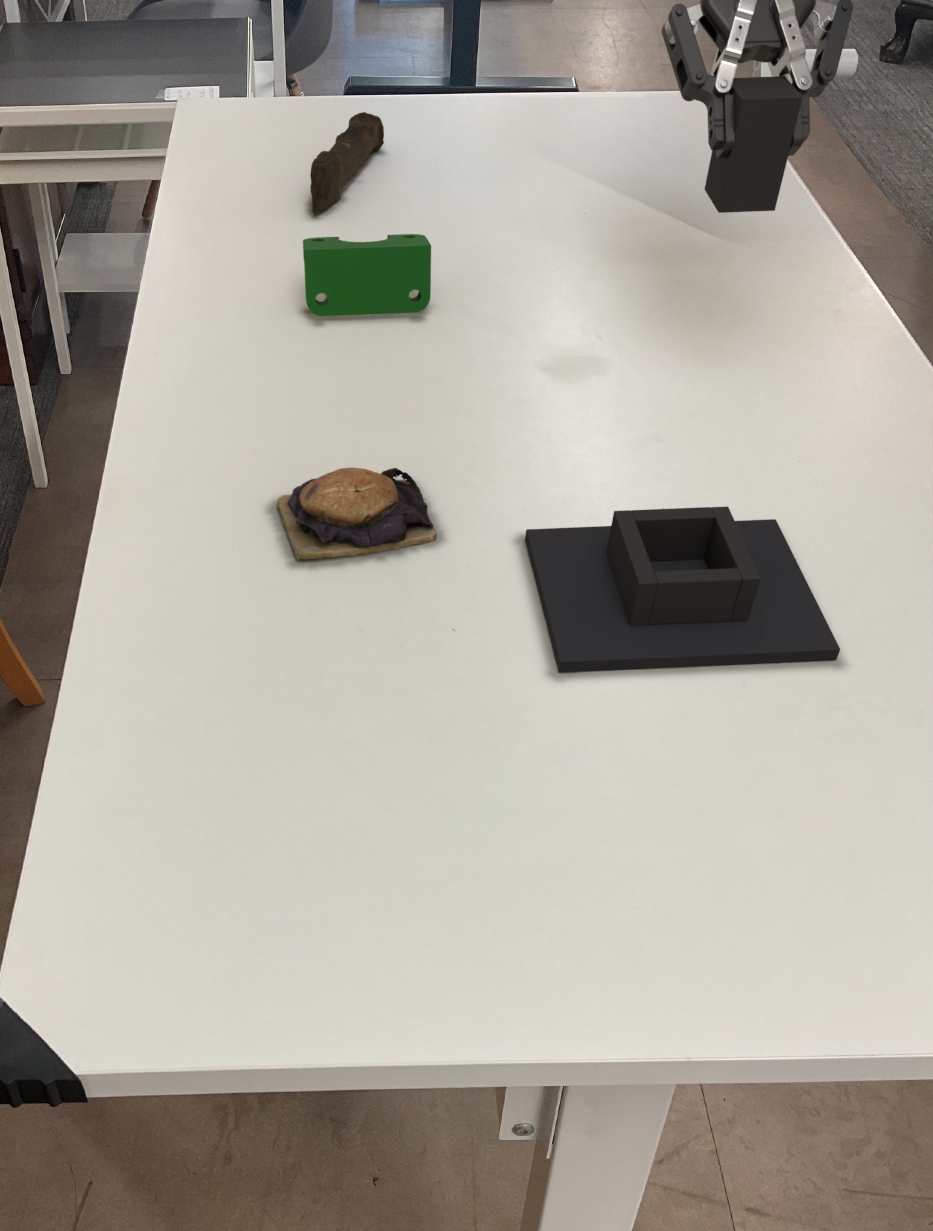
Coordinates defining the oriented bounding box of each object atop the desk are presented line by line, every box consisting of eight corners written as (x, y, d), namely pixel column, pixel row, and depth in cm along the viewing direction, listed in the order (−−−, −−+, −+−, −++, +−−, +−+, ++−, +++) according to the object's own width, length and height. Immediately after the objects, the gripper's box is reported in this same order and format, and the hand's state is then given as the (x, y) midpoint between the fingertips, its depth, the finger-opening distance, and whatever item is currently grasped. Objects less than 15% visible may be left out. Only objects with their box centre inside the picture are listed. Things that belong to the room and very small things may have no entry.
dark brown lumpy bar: (351, 147, 134) (350, 102, 131) (384, 151, 133) (385, 105, 130) (289, 215, 122) (286, 167, 119) (325, 220, 121) (323, 172, 118)
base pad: (772, 530, 86) (789, 476, 82) (836, 660, 76) (858, 606, 73) (524, 540, 85) (531, 486, 82) (558, 673, 76) (567, 619, 72)
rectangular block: (759, 187, 94) (785, 75, 88) (775, 210, 91) (803, 96, 85) (704, 189, 94) (726, 77, 88) (718, 212, 91) (742, 98, 85)
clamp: (402, 336, 114) (441, 240, 109) (408, 352, 109) (449, 253, 104) (284, 288, 111) (319, 188, 106) (285, 302, 106) (322, 198, 101)
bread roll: (296, 569, 83) (294, 525, 80) (274, 500, 89) (271, 457, 86) (442, 546, 85) (444, 503, 82) (411, 479, 90) (412, 437, 87)
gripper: (672, -120, 83) (679, 130, 84) (873, -126, 84) (878, 123, 85) (643, -51, 91) (650, 178, 92) (827, -57, 91) (832, 172, 92)
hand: (759, 150), depth 88 cm, fingers closed on rectangular block, 4 cm apart
